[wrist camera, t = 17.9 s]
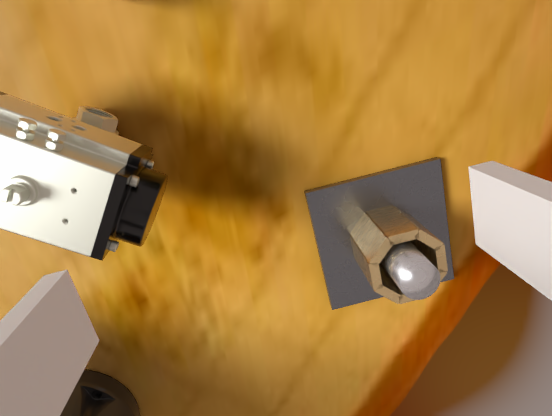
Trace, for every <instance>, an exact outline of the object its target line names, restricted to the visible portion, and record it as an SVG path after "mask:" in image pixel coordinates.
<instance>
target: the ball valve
mask: <svg viewBox="0 0 552 416" xmlns="http://www.w3.org/2000/svg"><path fill="white" fill-rule="evenodd" d="M117 124H118V119H117V117H116V116H114V115H113V114H111V113H108V112H106V111H103V110H101V109H97V108H94V107H89V106H80V107H79V110H78V114H77V117H73V118H70V117H67V116H65V115H62V114H59V113H57V112H54V111H51V110H49V109H46V108H43V107H40V106H38V105H35V104H32V103H30V102H27V101H24V100H22V99H19V98H16V97H14V96H11V95H8V94H6V93H3V92H0V229H3V230H6V231H9V232H12V233H16V234H19V235H22V236H25V237H28V238H32V239H35V240H38V241H41V242H44V243H48V244H51V245H54V246H57V247H60V248H64V249H67V250H70V251H73V252H76V253H79V254H83V255H86V256H89V257H92V258H95V259H99V260H103V259H104V257H105V256H106V255H107V253H108V252H109V251H113V252H115V251H116V250H117V248H118V245H119V242H117V240H121V241H124V242H127V243H130V244H133V245H137V246H142V245H143V244H144V242H145V240H146V238H147V236H148V234H149V232H150V229H151V227H152V224H153V222H154V219H155V217H156V214H157V212H158V209H159V206H160V203H161V200H162V197H163V194H164V191H165V188H166V184H167V180H168V176H167V175H166V174H163V173H160V172H157V171H155V170H152V169H153V166H154V161H151V160H152V156H153V154H151V152H152V149H153V148H151V147H148V146H145V145H143V144H140V143H137V142H135V141H132V140H129V139H127V138H124V137H121V136H118V135H119V132H118V131H117V130H116V128H117Z"/></svg>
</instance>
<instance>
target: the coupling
mask: <svg viewBox="0 0 552 416" xmlns="http://www.w3.org/2000/svg"><path fill="white" fill-rule="evenodd" d="M350 240H351V245H352V250H353V254H354V258H355V260H356V262H357V263H358V265H359V267H360V268H361V270H362V272H363V273H364V275H365V277H366V278H367V280H368V282H369V283H370V285H371V287H372V288H373V290H374V291H375V292H376V293H378V294H380V295H382V296H384V297H386V298H388V299H390V300H391V301H393V302H395V303H397V304H398V303H399V304H402V303H406V302H410V301H414V299H410V298H408V297H406V296H405V295H404V294H403V293H402V291H401V290H400V289H399V287H398V286H397V284H396V283H395V282H394V280H393V279H392V277H391V276H390V275H389V273H388V272H387V271H386V269H385V268H384V266H383V265H382V264H381V261H382V259H383V258H384V256H385V255H386V254H387V252H388V251H389V250H390V248H391V247H392V245H395V244H399V243H402V242H406V241H410V242H411V243H412V244H413V245H414V246H415V247H416V248H417V249H418V250H419V251H420V252H421V253H422V254H423V255H424V256H425V257H426V258H427V259H428V260H429V261H430V262H431V263H432V264H433V265H434V266H435V267H436V268H437V269H438V271H439V273H440V282H441V280H442V279H443V278H444V277H445V275H446V274H447V272H446V271H448V268H447V260H446V252H445V245H444V243H443V242H442V241H440V240H439V239H438V238H437V237H436V236H435V235H433V234H432V233H431V232H430V231H429V230H428V229H426V228H425V227H424V226H423V225H422V224H421V223H419V222H418V221H417V220H416V219H415V218H414V217H412V216H410V215H409V214H407V213H405V212H404V211H402V210H400V209H399V208H397V207H395V206H394V205H393V206H392V205H389V206H385V207H381V208H377V209H373V210H370V211H366V213H365V212H364V214H363V215H362V217H361V218H360V220H359V221H358V223H357V224H356V226H355V227H354V228H353V230H352V231H351V233H350Z"/></svg>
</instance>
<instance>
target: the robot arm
mask: <svg viewBox="0 0 552 416" xmlns="http://www.w3.org/2000/svg"><path fill="white" fill-rule="evenodd" d="M469 177H470V188H471V199H472V209H473V220H474V231H475V242H476V245H477V246H479V247H480V248H481V249H483V250H484V251H486V252H487V253H488V254H490V255H491V256H492V257H494V258H495V259H496V260H498V261H499V262H500V263H502V264H503V265H504V266H506V267H507V268H508V269H510V270H511V271H513V272H514V273H515V274H517V275H518V276H519V277H521V278H522V279H523V280H525V281H526V282H527V283H529V284H530V285H532V286H533V287H534V288H536V289H537V290H538V291H539V292H541V293H542V294H543V295H545V296H546V297H547V298H549V299H550V300H552V182H550V181H547V180H544V179H541V178H538V177H536V176H533V175H530V174H527V173H525V172H522V171H519V170H516V169H513V168H511V167H508V166H505V165H502V164H500V163H497V162H494V161H489V162H485V163H481V164H477V165H473V166H470V167H469ZM98 342H99V338H98V336H97V334H96V332H95V330H94V327H93V325H92V323H91V321H90V319H89V316H88V314H87V312H86V310H85V308H84V305H83V303H82V301H81V299H80V297H79V294H78V292H77V290H76V288H75V286H74V284H73V281H72V279H71V277H70V275H69V273H68V270H64V271H60V272H56V273H52V274H48V275H44V276H43V277H42V278H41V279H40V280H39V281H38V282H37V283H36V284H35V285H34V286H33V287H32V288H31V289H30V290H29V292H28V293H27V294H26V295H25V296H24V297H23V298H22V299H21V300H20V301H19V302H18V303H17V304H16V305H15V306H14V307H13V308H12V309H11V310H10V311H9V312H8V313H7V314H6V315H5V316H4V317H3V319H2V320H1V321H0V416H140V412H139V408H138V405H137V402H136V400H135V398H134V397H133V395H132V394H131V393H130V391H129V390H128V389H127V388H126V387H125V386H123V385H122V384H121V383H120V382H118V381H116V380H115V379H113V378H111V377H109V376H107V375H104V374H101V373H98V372H93V371H88V370H84V369H85V367H86V365H87V363H88V361H89V360H90V358H91V356H92V354H93V352H94V350H95V348H96V346H97V344H98Z"/></svg>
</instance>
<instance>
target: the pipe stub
mask: <svg viewBox="0 0 552 416" xmlns="http://www.w3.org/2000/svg"><path fill="white" fill-rule="evenodd" d="M305 196H306V200H307V204H308V209H309V213H310V217H311V222H312V226H313V230H314V235H315V239H316V244H317V248H318V252H319V257H320V261H321V265H322V270H323V274H324V278H325V283H326V287H327V291H328V296H329V300H330V304H331V308H332V310H334V309H338V308H342V307H346V306H349V305H353V304H357V303H361V302H365V301H369V300H373V299H377V298H381V297H384V296H382V295H380V294H378V293H376V292H375V291H374V290H373V288H372V287H371V285H370V283H369V282H368V280H367V278H366V277H365V275H364V273H363V272H362V270H361V268H360V267H359V265H358V263H357V262H356V260H355V258H354V254H353V250H352V245H351V240H350V233H351V231H352V230H353V228H354V227H355V226H356V224H357V223H358V221H359V220H360V218H361V217H362V215H363V214H364V212H365V213H366V211H370V210H373V209H377V208H381V207H385V206H389V205H392V206H393V205H394V206H395V207H397V208H399V209H400V210H402V211H404V212H405V213H407V214H409V215H410V216H412V217H414V218H415V219H416V220H417V221H418V222H419V223H421V224H422V225H423V226H424V227H425V228H426V229H428V230H429V231H430V232H431V233H432V234H433V235H435V236H436V237H437V238H438V239H439V240H440V241H442V242H443V243H444V245H445V252H446V260H447V268H448V271H446V272H447V274H446V275H445V277H444V278H443V279H442V280H441V282H443V281H447V280H451V279H454V274H453V266H452V257H451V248H450V240H449V231H448V222H447V214H446V205H445V196H444V187H443V179H442V170H441V161H440V159H439V158H437V157H435V158H431V159H427V160H423V161H419V162H416V163H412V164H408V165H404V166H400V167H396V168H392V169H388V170H384V171H380V172H377V173H373V174H369V175H365V176H361V177H357V178H353V179H349V180H345V181H341V182H338V183H334V184H330V185H326V186H322V187H318V188H314V189H310V190H306V191H305ZM381 264H382V265H383V266H384V268H385V269H386V271H387V272H388V273H389V275H390V276H391V277H392V279H393V280H394V282H395V283H396V284H397V286H398V287H399V289H400V290H401V291H402V293H403V294H404V295H405V296H406V297H408V298H410V299H414V300H420V299H424V298H427V297H429V296H431V295H432V294H433V293H434V292H435V291H436V290H437V288H438V286H439V284H440V273H439V271H438V269H437V268H436V267H435V266H434V265H433V264H432V263H431V262H430V261H429V260H428V259H427V258H426V257H425V256H424V255H423V254H422V253H421V252H420V251H419V250H418V249H417V248H416V247H415V246H414V245H413V244H412V243H411V242H410V241H406V242H402V243H399V244H395V245H392V247H391V248H390V250H389V251H388V252H387V254H386V255H385V256H384V258H383V259H382V261H381Z"/></svg>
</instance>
